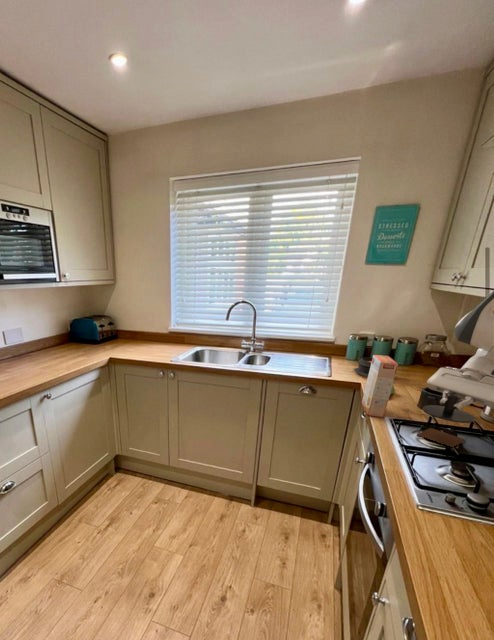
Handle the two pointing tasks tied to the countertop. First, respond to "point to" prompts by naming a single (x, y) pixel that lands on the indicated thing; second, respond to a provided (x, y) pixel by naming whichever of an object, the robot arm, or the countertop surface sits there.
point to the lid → (449, 411)
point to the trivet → (441, 437)
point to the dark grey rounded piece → (364, 366)
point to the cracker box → (379, 385)
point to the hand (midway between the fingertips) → (449, 406)
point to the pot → (430, 398)
